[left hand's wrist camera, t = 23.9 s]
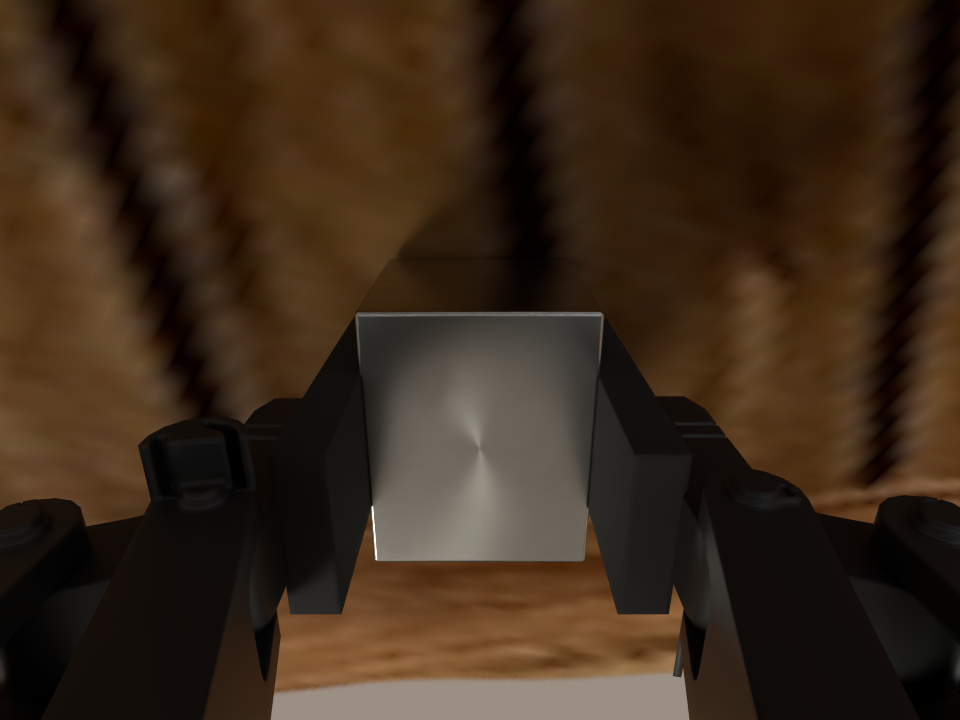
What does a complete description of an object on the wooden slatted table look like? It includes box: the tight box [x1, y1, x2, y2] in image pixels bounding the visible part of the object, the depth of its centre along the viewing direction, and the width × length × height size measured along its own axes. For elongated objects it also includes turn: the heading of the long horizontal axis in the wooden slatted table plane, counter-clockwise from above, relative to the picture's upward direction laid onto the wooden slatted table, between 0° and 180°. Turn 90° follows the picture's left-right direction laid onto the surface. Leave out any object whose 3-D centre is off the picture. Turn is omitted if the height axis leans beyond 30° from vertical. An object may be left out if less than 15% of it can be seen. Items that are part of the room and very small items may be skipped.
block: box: [355, 259, 604, 562], centre depth 13 cm, size 5×4×4 cm
